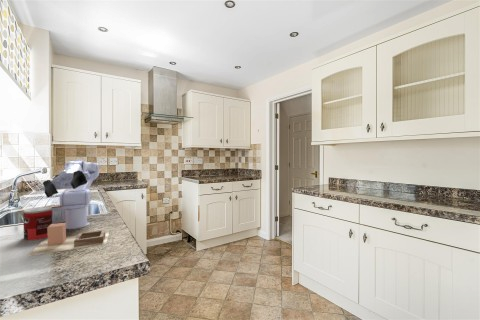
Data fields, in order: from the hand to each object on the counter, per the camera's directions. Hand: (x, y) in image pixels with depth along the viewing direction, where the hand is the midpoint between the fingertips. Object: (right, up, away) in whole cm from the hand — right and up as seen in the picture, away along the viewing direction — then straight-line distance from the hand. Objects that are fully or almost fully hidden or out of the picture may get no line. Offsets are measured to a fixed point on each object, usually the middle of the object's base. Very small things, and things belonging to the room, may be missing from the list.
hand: (60, 190), depth 76 cm
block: (-2, -18, +1) cm, 18 cm away
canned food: (-14, -19, +7) cm, 25 cm away
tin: (-23, -19, +26) cm, 39 cm away
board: (+3, -19, +1) cm, 19 cm away
